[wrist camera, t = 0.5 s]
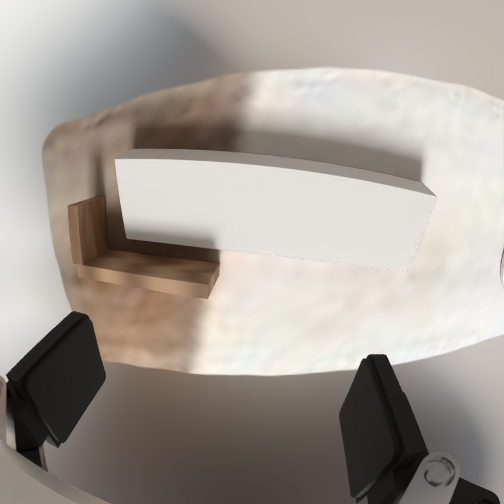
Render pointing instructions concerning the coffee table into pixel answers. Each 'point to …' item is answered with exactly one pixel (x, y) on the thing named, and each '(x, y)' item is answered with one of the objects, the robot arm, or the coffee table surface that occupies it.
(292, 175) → the decorative molding
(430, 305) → the coffee table surface
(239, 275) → the coffee table surface
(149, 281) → the wooden corner bracket
